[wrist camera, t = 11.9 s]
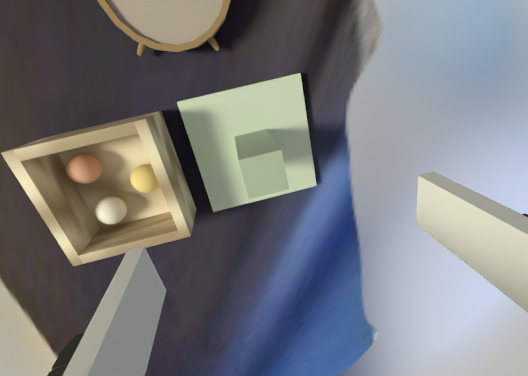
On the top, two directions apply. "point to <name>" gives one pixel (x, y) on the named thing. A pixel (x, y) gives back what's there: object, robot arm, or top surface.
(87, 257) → the box
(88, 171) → the ball terracotta
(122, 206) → the ball cream
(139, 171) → the ball mustard
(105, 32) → the top surface
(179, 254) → the top surface
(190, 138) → the lid
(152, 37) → the alarm clock
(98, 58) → the top surface
